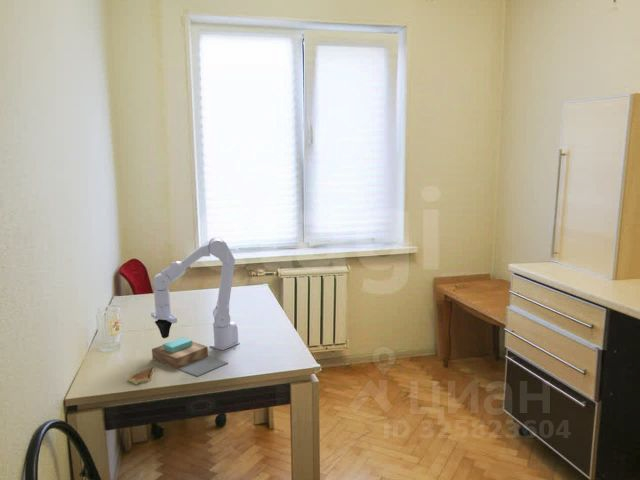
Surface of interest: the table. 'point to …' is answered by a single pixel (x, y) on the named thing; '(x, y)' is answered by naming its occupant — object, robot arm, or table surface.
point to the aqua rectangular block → (177, 344)
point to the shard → (141, 376)
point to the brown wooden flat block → (180, 355)
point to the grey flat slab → (203, 366)
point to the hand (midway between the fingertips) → (165, 337)
